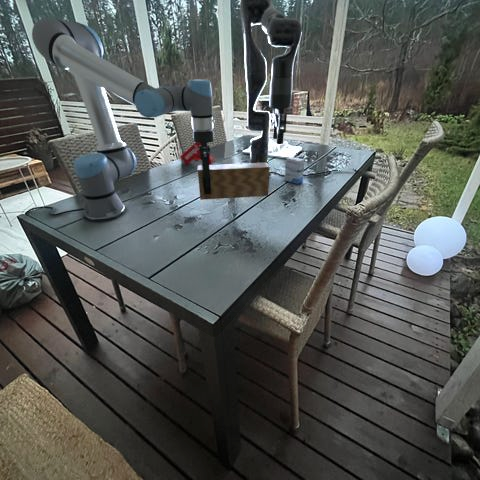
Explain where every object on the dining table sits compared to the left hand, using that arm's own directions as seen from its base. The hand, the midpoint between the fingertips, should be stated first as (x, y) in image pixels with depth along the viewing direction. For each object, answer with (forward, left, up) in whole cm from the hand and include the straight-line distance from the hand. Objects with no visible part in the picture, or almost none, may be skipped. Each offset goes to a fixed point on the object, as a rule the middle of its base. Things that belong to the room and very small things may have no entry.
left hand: (207, 190), depth 109 cm
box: (+11, +1, -3) cm, 11 cm away
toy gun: (-9, +65, -9) cm, 67 cm away
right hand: (+28, +1, +18) cm, 33 cm away
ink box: (+43, +32, -9) cm, 55 cm away
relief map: (+43, +92, -9) cm, 102 cm away
